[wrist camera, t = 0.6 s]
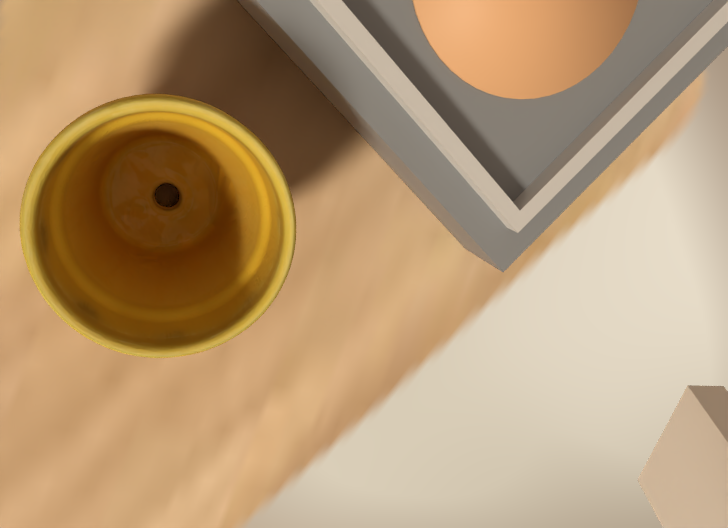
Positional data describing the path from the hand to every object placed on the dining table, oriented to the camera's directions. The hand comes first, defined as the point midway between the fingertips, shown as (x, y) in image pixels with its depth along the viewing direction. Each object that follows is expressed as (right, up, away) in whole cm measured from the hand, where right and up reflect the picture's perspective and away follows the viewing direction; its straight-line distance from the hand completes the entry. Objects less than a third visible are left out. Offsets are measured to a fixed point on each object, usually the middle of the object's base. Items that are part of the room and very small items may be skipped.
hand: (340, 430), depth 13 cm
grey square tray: (+7, +18, +24) cm, 31 cm away
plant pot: (-10, +7, +23) cm, 26 cm away
